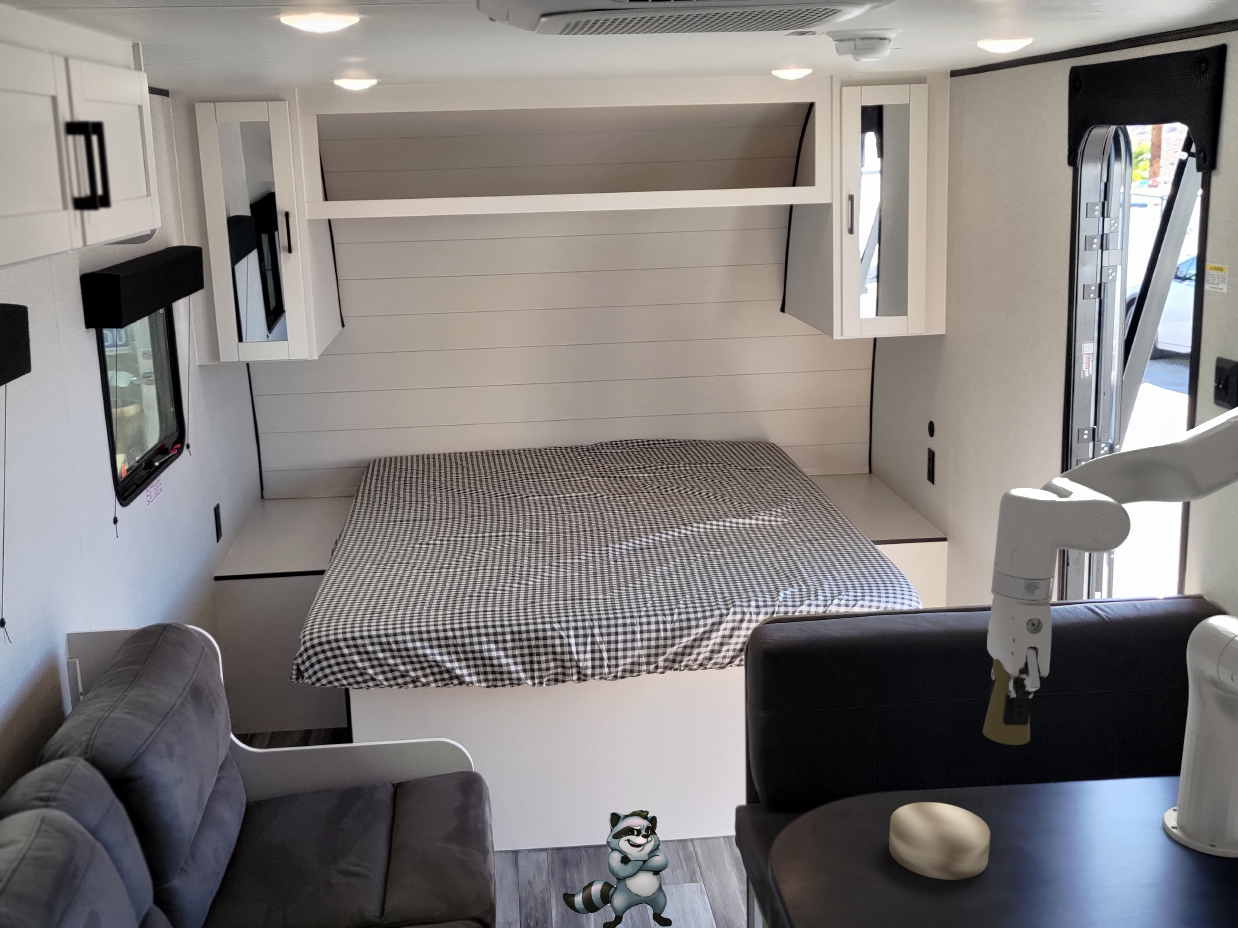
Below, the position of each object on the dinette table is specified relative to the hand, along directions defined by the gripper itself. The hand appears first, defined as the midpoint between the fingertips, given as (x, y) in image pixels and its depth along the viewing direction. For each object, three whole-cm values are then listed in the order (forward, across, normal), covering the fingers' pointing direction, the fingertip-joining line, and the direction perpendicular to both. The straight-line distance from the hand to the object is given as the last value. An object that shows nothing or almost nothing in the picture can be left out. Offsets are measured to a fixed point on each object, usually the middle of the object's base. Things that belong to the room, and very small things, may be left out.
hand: (1008, 715), depth 153 cm
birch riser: (+20, 0, +8) cm, 22 cm away
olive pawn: (+3, 0, 0) cm, 3 cm away
